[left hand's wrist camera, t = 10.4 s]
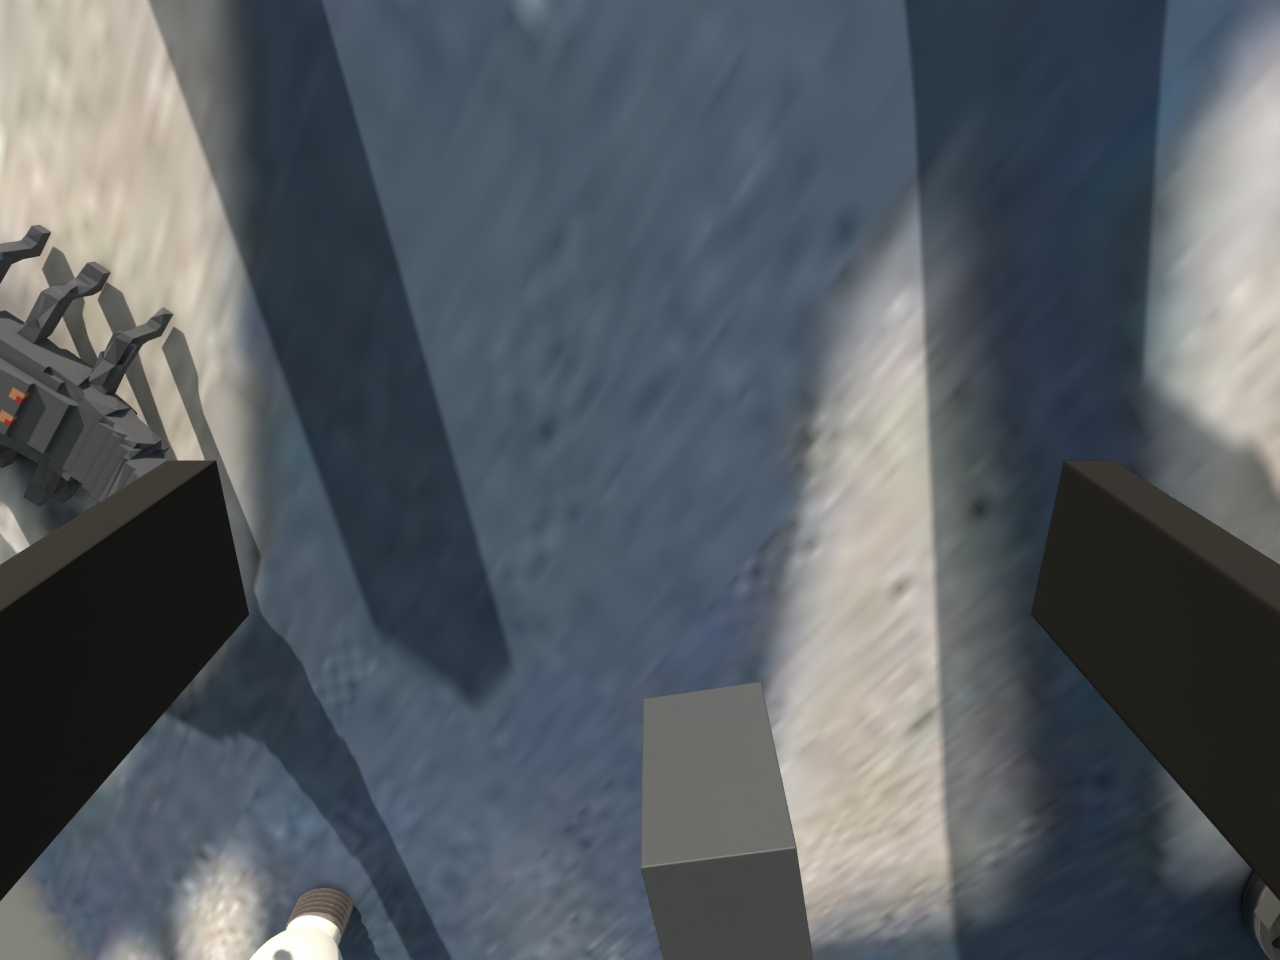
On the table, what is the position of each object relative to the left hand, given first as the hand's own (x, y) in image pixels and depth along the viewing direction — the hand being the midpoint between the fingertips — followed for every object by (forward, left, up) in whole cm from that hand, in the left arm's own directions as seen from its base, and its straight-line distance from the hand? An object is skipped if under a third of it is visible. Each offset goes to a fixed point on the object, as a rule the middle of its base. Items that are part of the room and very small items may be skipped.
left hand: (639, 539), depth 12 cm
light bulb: (+50, +2, -31) cm, 59 cm away
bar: (+20, +17, -17) cm, 32 cm away
